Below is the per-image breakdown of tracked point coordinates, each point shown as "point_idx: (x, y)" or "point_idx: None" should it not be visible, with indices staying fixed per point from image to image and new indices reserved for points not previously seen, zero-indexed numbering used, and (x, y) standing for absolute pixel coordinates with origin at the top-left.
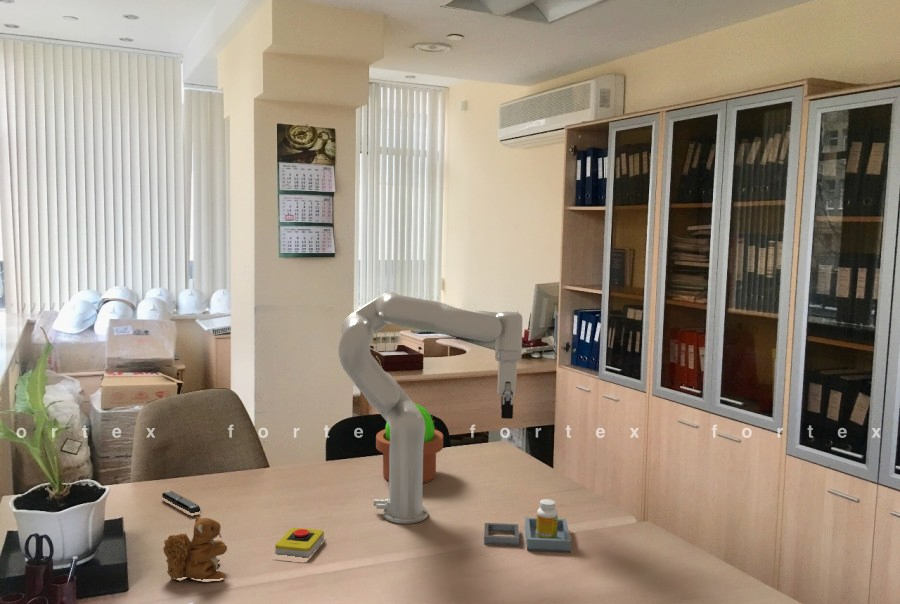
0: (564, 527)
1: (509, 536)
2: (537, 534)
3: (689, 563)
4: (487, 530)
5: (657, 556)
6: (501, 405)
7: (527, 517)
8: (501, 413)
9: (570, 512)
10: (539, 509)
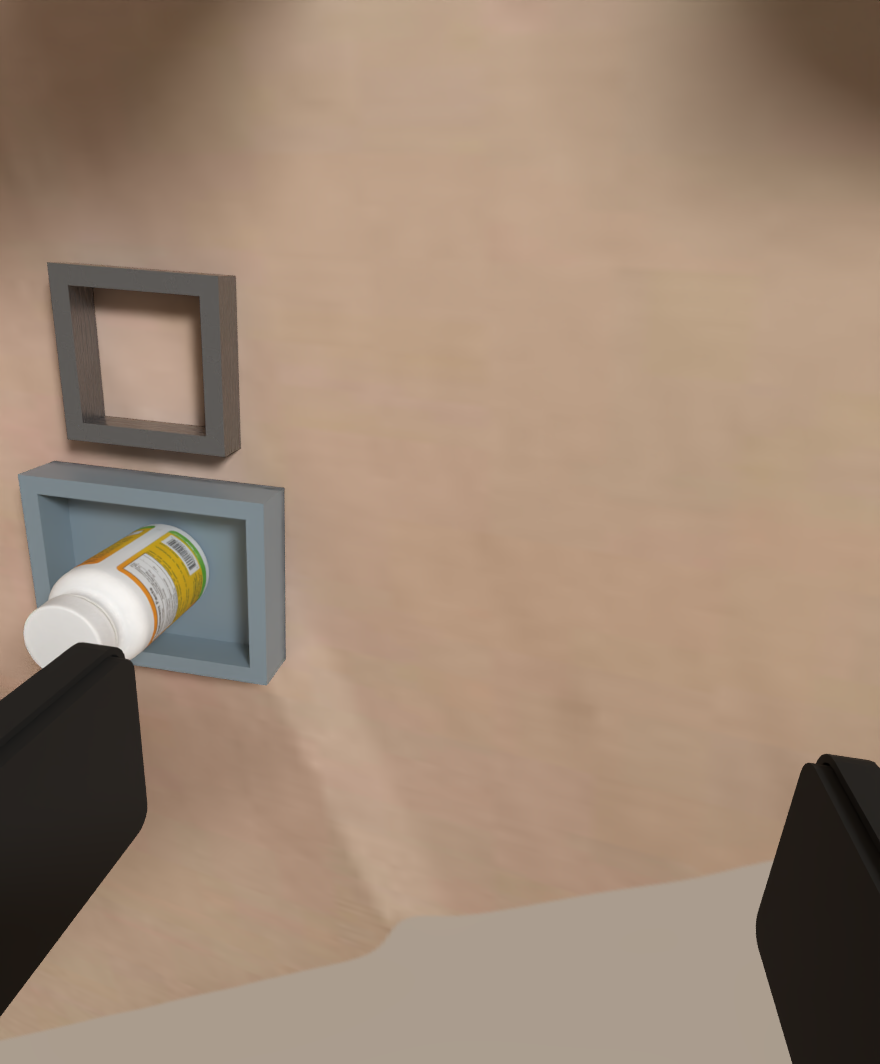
0: (173, 657)
1: (79, 395)
2: (138, 530)
3: (81, 946)
4: (123, 285)
5: (109, 885)
6: (864, 818)
7: (263, 514)
8: (24, 686)
9: (482, 725)
10: (84, 584)
